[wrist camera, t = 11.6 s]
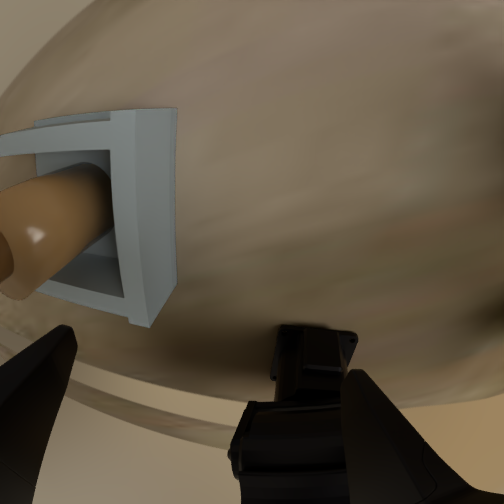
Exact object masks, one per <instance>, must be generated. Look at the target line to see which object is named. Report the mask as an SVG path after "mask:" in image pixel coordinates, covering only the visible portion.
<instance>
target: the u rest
mask: <svg viewBox="0 0 504 504" xmlns="http://www.w3.org/2000/svg"><path fill="white" fill-rule="evenodd" d="M176 122H177V108H153V109H131V110H116V111H104V112H94V113H85V114H77V115H69V116H62V117H55V118H49V119H43V120H38V121H34V127H32V128H28V129H23V130H19V131H15V132H11V133H7V134H3V135H0V157H2V156H11V155H20V154H31V153H35V158H36V171H37V177H38V176H41V175H43V174H46V173H49V172H52V171H55V170H58V169H61V168H64V167H67V166H70V165H73V164H76V163H80V162H89V163H93V164H95V165H97V166H98V167H100V168H101V169H102V170H103V171H105V173H106V174H107V175H108V176H109V178H110V179H111V185H112V200H113V213H114V224H115V225H114V227H113V229H112V230H111V231H110V232H109V233H108V234H107V235H106V236H104V237H103V238H101V239H100V240H99V241H97V242H96V243H95V244H93V245H92V246H91V247H89V248H88V249H87V250H85V251H84V252H83V253H81V254H80V255H79V256H77V257H76V258H75V259H73V260H72V261H71V262H70V263H68V264H67V265H66V266H64V267H63V268H62V269H61V270H59V271H58V272H57V273H56V274H54V275H53V276H52V277H51V278H49V279H48V280H47V281H46V282H45V283H43V284H42V285H41V286H40V287H39V288H37V289H36V290H35V291H37V292H40V293H43V294H46V295H49V296H53V297H56V298H59V299H62V300H66V301H69V302H73V303H76V304H79V305H83V306H87V307H90V308H94V309H98V310H101V311H105V312H109V313H113V314H117V315H121V316H125V317H128V320H129V323H131V324H135V325H139V326H143V327H147V328H150V326H151V325H152V323H153V321H154V320H155V318H156V317H157V315H158V313H159V312H160V310H161V309H162V307H163V305H164V304H165V302H166V301H167V299H168V297H169V296H170V294H171V293H172V291H173V290H174V288H175V286H176V285H177V268H176V240H175V149H176Z"/></svg>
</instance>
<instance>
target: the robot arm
mask: <svg viewBox="0 0 504 504" xmlns="http://www.w3.org/2000/svg"><path fill="white" fill-rule="evenodd" d="M283 331H287V332H285V333H284V332H283ZM351 338H354V339H353V340H350V339H351ZM357 343H358V336H357V334H356V333H350V332H340V331H330V330H321V329H312V328H303V327H295V326H287V325H283V326H281V327H280V328H279V331H278V336H277V342H276V347H275V353H274V358H273V363H272V369H271V374H270V379H271V380H272V381H276V388H275V397H274V402H257V401H249V402H248V404H247V407H246V409H245V410H244V412H243V415H242V417H241V420H240V422H239V424H238V427H237V429H236V432H235V434H234V436H233V439H232V441H231V444H230V449H229V450H228V458H229V459H230V461H231V465H232V471H233V475H234V477H235V478H236V479H237V480H239V482H240V489H241V504H504V495H503V494H497V493H491V492H486V491H481V490H478V489H476V488H474V487H472V486H471V485H469V484H468V483H467V482H466V481H465V480H463V479H462V478H461V477H460V476H459V475H458V474H457V473H456V472H455V471H454V470H453V469H452V468H451V467H450V466H448V465H447V464H446V463H445V462H444V461H443V460H442V459H441V458H440V457H439V456H438V454H437V453H436V452H435V451H434V450H433V449H432V448H431V447H430V446H429V444H428V443H427V442H426V441H425V442H424V439H423V438H422V437H421V435H420V434H419V433H418V432H417V431H416V429H415V428H414V427H413V426H412V425H411V424H410V423H409V421H408V420H407V419H406V418H405V417H404V416H403V415H402V413H401V412H400V411H399V410H398V409H397V408H396V406H395V405H394V404H393V403H392V402H391V401H390V400H389V398H388V397H387V396H386V395H385V394H384V393H383V392H382V390H381V389H380V388H379V387H378V386H377V385H376V384H375V382H374V381H373V380H372V379H371V378H370V377H369V376H368V374H367V373H366V372H365V371H364V370H362V369H352V370H350V371H349V373H348V371H347V367H348V365H349V363H350V360H351V358H352V355H353V353H354V350H355V348H356V345H357ZM77 348H78V345H77V341H76V337H75V334H74V331H73V328H72V327H70V326H67V325H63V324H61V325H59V326H57V327H56V328H54V329H53V330H51V331H50V332H48V333H47V334H46V335H44V336H43V337H41V338H40V339H38V340H37V341H35V342H34V343H32V344H31V345H30V346H28V347H27V348H25V349H24V350H22V351H21V352H20V353H18V354H17V355H15V356H14V357H13V358H11V359H10V360H8V361H7V362H6V363H4V364H3V365H1V366H0V504H32V501H33V497H34V492H35V488H36V487H35V486H36V483H37V479H38V475H39V472H40V468H41V464H42V461H43V457H44V453H45V450H46V447H47V444H48V441H49V437H50V434H51V431H52V428H53V425H54V422H55V419H56V416H57V413H58V411H59V408H60V405H61V402H62V400H63V397H64V394H65V391H66V388H67V385H68V381H69V378H70V374H71V370H72V366H73V363H74V359H75V356H76V353H77Z"/></svg>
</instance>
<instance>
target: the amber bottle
mask: <svg viewBox="0 0 504 504" xmlns="http://www.w3.org/2000/svg"><path fill="white" fill-rule="evenodd" d="M114 225H115V224H114V213H113V200H112V185H111V179H110V178H109V176H108V175H107V174H106V173H105V171H103V170H102V169H101V168H100V167H98V166H97V165H95V164H93V163H89V162H80V163H76V164H73V165H70V166H67V167H64V168H61V169H58V170H55V171H52V172H49V173H46V174H43V175H41V176H38V177H35V178H33V179H30V180H27V181H25V182H22V183H20V184H17V185H15V186H12V187H10V188H7V189H5V190H3V191H0V291H1V292H2V293H3V294H5V295H6V296H7V297H9V298H11V299H14V300H24V299H25V298H27V297H28V296H29V295H30V294H31V293H33V292H34V291H35V290H36V289H37V288H39V287H40V286H41V285H42V284H43V283H45V282H46V281H47V280H48V279H49V278H51V277H52V276H53V275H54V274H56V273H57V272H58V271H59V270H61V269H62V268H63V267H64V266H66V265H67V264H68V263H70V262H71V261H72V260H73V259H75V258H76V257H77V256H79V255H80V254H81V253H83V252H84V251H85V250H87V249H88V248H89V247H91V246H92V245H93V244H95V243H96V242H97V241H99V240H100V239H101V238H103V237H104V236H106V235H107V234H108V233H109V232H110V231H111V230H112V229H113V227H114Z"/></svg>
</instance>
